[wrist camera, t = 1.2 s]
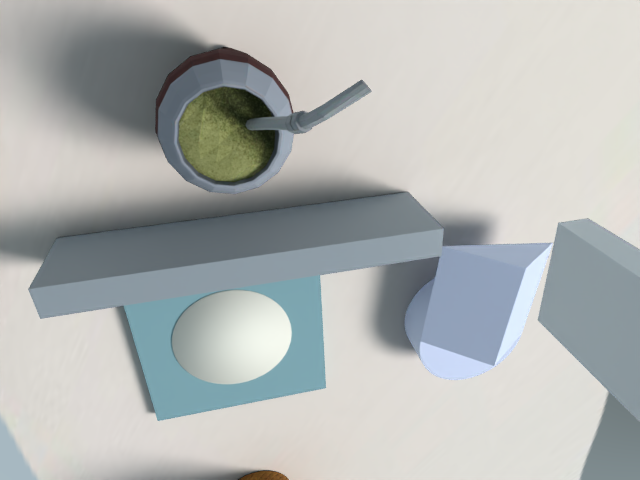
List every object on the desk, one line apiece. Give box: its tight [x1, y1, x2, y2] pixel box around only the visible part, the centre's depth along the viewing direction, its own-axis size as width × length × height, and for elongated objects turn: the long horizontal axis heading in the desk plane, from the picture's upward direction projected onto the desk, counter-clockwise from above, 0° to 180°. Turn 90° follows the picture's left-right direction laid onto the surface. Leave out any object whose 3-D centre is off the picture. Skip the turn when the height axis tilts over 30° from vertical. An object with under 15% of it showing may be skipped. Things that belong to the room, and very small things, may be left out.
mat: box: [124, 275, 326, 421], centre depth 37 cm, size 14×14×1 cm
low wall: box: [28, 192, 444, 319], centre depth 31 cm, size 2×24×6 cm, turn 92°
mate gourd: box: [155, 47, 372, 194], centre depth 23 cm, size 8×8×15 cm
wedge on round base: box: [405, 243, 553, 380], centre depth 38 cm, size 9×7×13 cm
